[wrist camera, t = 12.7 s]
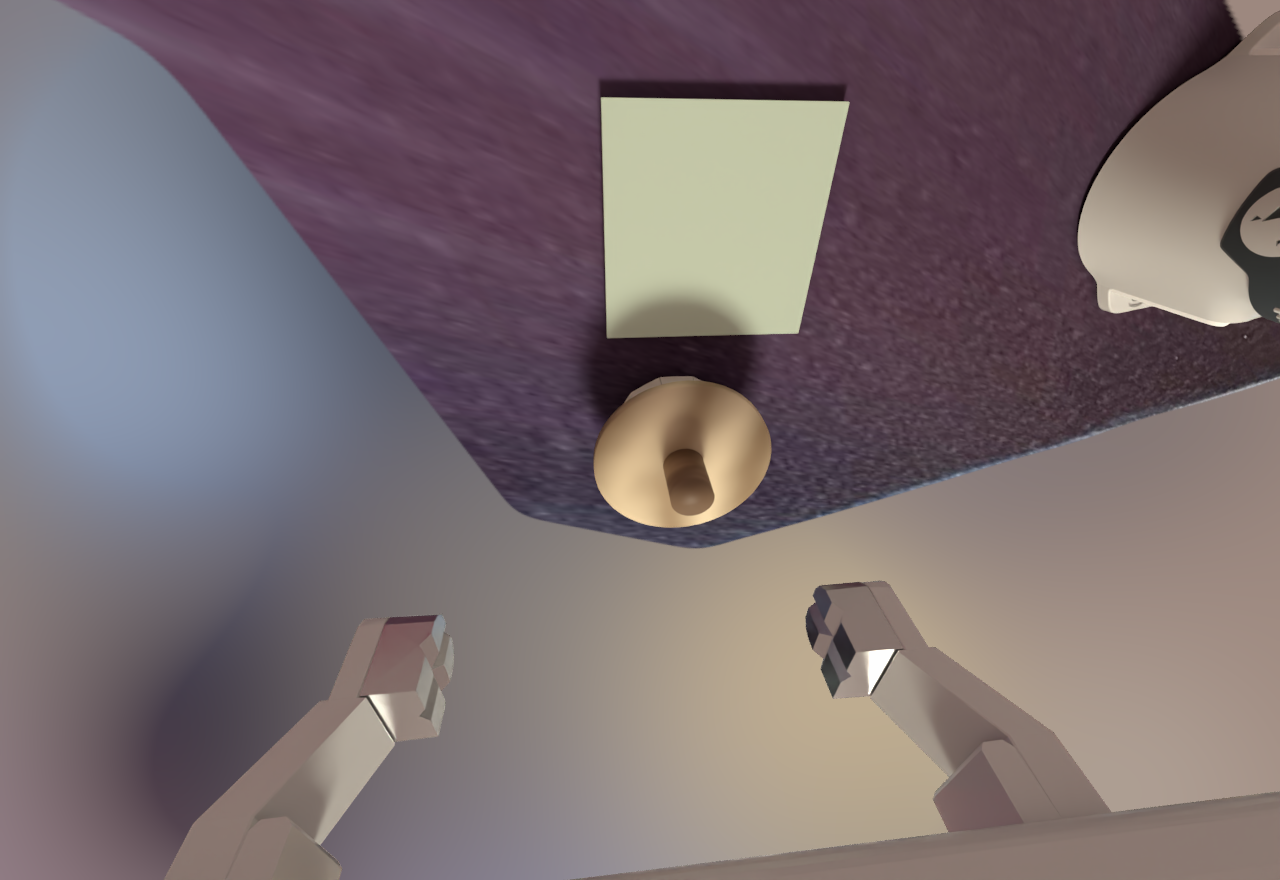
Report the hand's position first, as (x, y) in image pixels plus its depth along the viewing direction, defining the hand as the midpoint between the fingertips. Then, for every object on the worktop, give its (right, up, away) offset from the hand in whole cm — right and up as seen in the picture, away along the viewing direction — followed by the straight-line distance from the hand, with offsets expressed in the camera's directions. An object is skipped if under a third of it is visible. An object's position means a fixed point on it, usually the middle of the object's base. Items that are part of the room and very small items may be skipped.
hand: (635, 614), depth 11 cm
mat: (+5, +18, +23) cm, 30 cm away
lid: (+3, +2, +29) cm, 29 cm away
